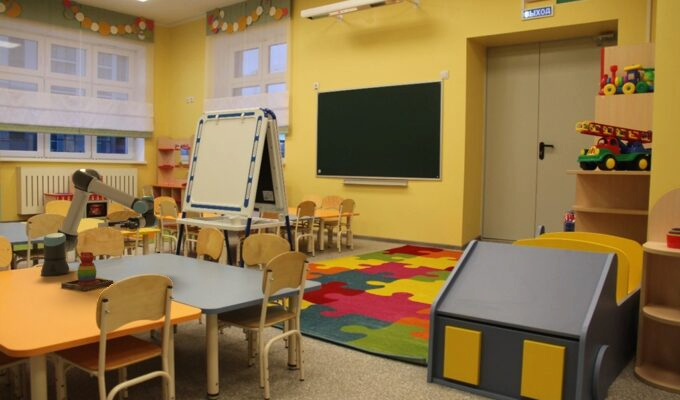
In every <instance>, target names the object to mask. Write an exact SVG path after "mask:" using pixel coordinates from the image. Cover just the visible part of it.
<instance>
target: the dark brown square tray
mask: <svg viewBox="0 0 680 400" xmlns="http://www.w3.org/2000/svg"><path fill="white" fill-rule="evenodd" d="M95 280H99V281H100V282H101V283H97V284H93V285H89V286H80V285H78V282H79V280H78V279H74V280H69V281H64V282H61V283H60V284H61V285H60V286H61V289H66V290H73V291H77V292H89V291H93V290H98V289H102V288H106V287H110V286H109V285H111V284H113V285H114V280H112V279H107V278H99V277H96V278H95ZM111 286H112V285H111Z"/></svg>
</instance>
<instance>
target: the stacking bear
mask: <svg viewBox="0 0 680 400" xmlns="http://www.w3.org/2000/svg"><path fill="white" fill-rule="evenodd" d="M79 258H80V259H79V260H80V263H79V264H78V267H77V271H76V275H77V280H79V282H78V285H80V286H89V285H93V284H97V283H101V282H100V281H99V280H95V278H97V268H96V264H95V263H94V262H93V261H94V259H95V255H94V253H93V252H90V251H86V252H83V251H81V252H80V257H79Z"/></svg>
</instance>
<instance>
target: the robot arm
mask: <svg viewBox="0 0 680 400" xmlns="http://www.w3.org/2000/svg"><path fill="white" fill-rule="evenodd" d="M71 181H72V183H73V185H74V186H73V188H74V190H75V191H74V193H73V197H72V200H71V202H70V205H69V207H68V210H67V212H66V216H65V218H64V221H63V224H62V226H61V227H59V228H58V230H57V232H54V233H47V234H46V235H45V236H44V237H43V242H42V244H43V263H42V267H41V269H40V275H41V276H43V277H54V276H55V277H56V276H64V275H67V274H70V267H69V264H68V261H67V253H68V252H69V253H70V252H71V251H73V250H74V249H75V248H76V247H77V246H78V243H79V238H78V236H79V232H78V230H79V226H80V224H81V221H82V218H83V215H84V214H85V209H86V208H87V204H88V202H89V199H90V196H91V195H93V194H97V195H98V196H101V197H103V198H105V199H108V200H110V201H112V202H114V203H116V204H119V205H121V206H123V207H125V208H127V209H130V210H132V211H133V212H134V213H136V214H139V215H138V216H129V217H128V218H127V219H125V220H114V221H113V220H112V221H111V220H110V221H105V222H97V228H98V229H101V228H108V227H114V230H122V229H123V230H124V229H129V230H132V231H133V230H137V229H138V230H141V229H147V228H153V227H156V226H157V225H158V223H159V218H158V216H157V215H156V214H155V197H154V196H153V195H145V196H143V195H142V196H141V199H140V198H138V197H137V196H134V195H131V194H129V193H127V192H125V191H124V190H120V189H118V188H116V187H114V186H112V185H109V184H107V183H105V182H103V181H101V175H100V173H99V172H98V171H97V170H95V169H93V168H80V169H77V170H76V171H74V172H73V173H72V176H71Z"/></svg>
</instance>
